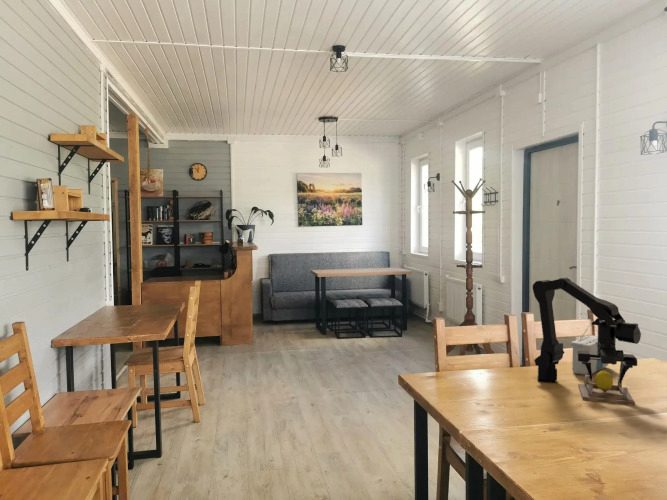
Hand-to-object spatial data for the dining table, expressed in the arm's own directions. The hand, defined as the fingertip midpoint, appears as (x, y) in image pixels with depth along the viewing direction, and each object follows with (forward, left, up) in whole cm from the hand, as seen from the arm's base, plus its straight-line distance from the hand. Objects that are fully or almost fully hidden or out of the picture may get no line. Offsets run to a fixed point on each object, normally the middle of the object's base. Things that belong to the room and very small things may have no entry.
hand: (605, 381), depth 183 cm
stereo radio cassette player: (-1, +33, -5) cm, 34 cm away
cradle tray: (0, 0, -5) cm, 5 cm away
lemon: (0, 0, -4) cm, 4 cm away
